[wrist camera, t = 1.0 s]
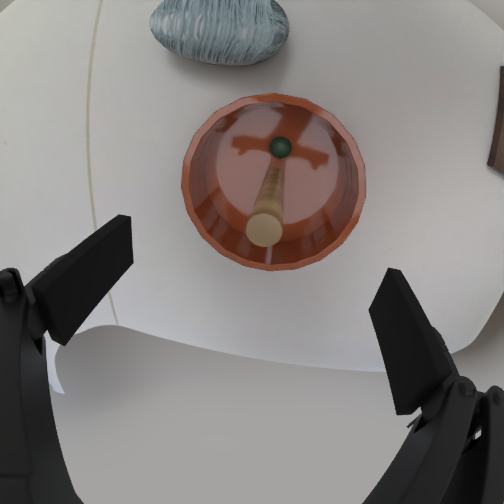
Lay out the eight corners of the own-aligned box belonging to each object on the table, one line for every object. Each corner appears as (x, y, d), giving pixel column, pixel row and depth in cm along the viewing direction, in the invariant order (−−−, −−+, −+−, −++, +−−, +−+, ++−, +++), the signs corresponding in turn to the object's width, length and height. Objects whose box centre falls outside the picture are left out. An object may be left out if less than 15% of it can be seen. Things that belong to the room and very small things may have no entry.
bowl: (210, 89, 26) (192, 84, 21) (367, 120, 25) (385, 121, 20) (194, 230, 34) (177, 252, 29) (329, 257, 34) (336, 284, 28)
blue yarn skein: (313, 0, 17) (269, -12, 11) (289, 72, 25) (242, 93, 19) (204, -19, 18) (139, -17, 13) (193, 44, 26) (133, 62, 21)
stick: (267, 165, 29) (248, 210, 16) (286, 169, 29) (286, 217, 16) (263, 183, 30) (243, 243, 17) (283, 187, 30) (278, 250, 17)
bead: (271, 133, 27) (270, 134, 25) (293, 137, 27) (294, 139, 25) (268, 154, 28) (266, 157, 26) (289, 158, 28) (289, 162, 26)
